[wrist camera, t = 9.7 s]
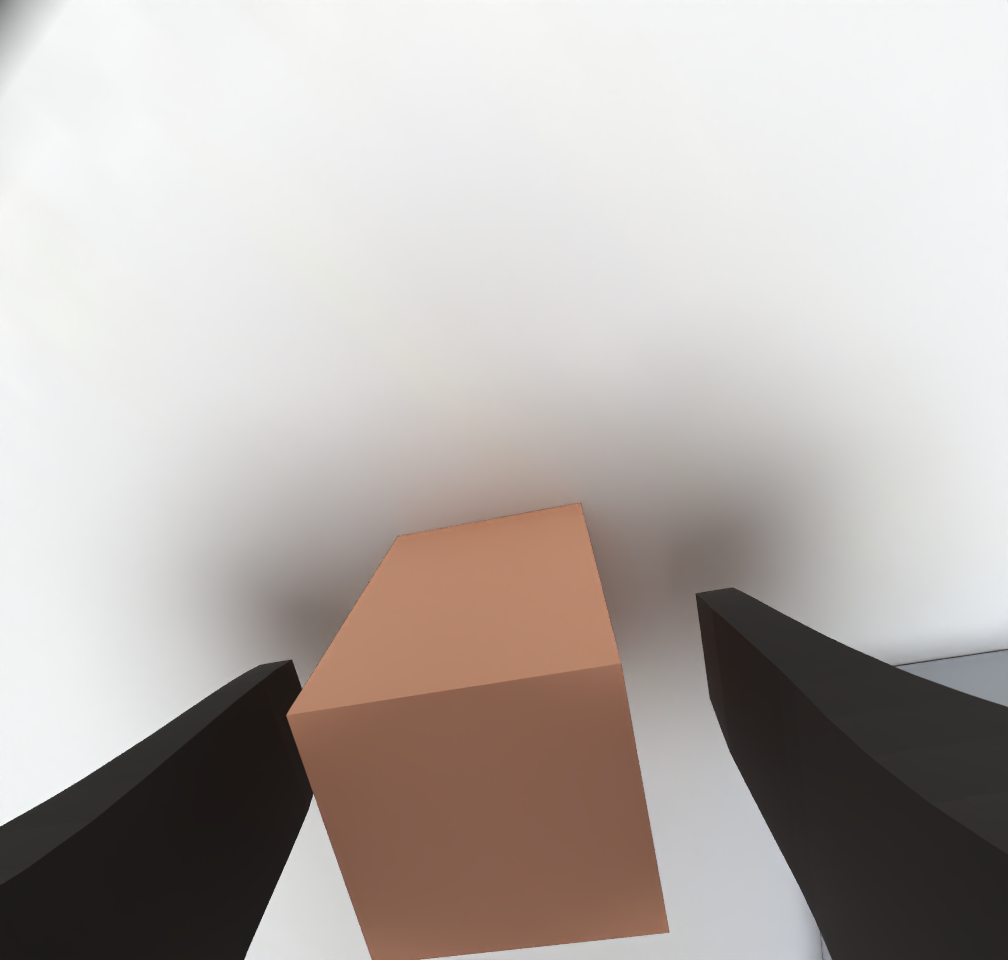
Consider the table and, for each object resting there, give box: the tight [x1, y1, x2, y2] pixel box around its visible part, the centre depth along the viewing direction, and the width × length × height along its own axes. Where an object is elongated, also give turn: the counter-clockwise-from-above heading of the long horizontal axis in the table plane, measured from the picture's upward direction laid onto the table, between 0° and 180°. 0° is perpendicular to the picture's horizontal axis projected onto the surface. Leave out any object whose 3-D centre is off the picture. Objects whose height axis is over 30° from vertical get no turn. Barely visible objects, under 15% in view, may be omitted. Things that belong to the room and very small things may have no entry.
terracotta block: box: [286, 503, 669, 960], centre depth 10 cm, size 4×4×6 cm
